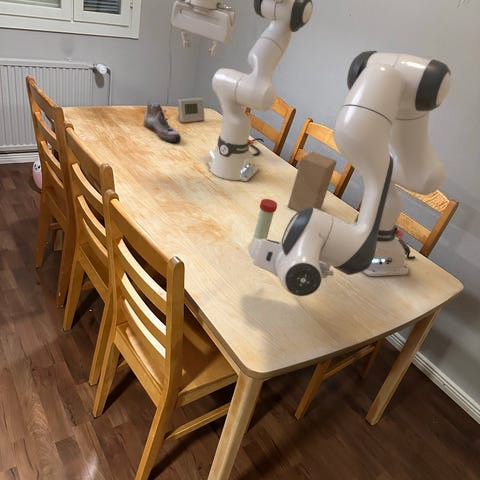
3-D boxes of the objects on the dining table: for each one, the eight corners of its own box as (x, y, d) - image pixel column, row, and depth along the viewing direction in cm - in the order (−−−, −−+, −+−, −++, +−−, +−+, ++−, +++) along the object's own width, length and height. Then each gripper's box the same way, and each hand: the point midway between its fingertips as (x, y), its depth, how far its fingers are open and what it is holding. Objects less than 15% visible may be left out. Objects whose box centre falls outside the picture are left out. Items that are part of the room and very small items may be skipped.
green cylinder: (249, 249, 135) (260, 204, 126) (253, 243, 138) (264, 199, 130) (261, 254, 134) (273, 209, 126) (265, 247, 137) (277, 203, 129)
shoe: (184, 144, 195) (187, 117, 189) (160, 144, 190) (163, 116, 183) (163, 123, 212) (165, 98, 206) (141, 123, 207) (143, 97, 200)
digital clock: (179, 123, 216) (182, 102, 211) (171, 117, 222) (173, 96, 216) (207, 123, 225) (211, 102, 220) (199, 116, 231) (202, 96, 225)
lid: (257, 209, 127) (258, 203, 126) (262, 202, 131) (263, 197, 130) (273, 214, 126) (274, 208, 125) (277, 207, 130) (279, 202, 129)
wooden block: (310, 217, 160) (327, 167, 149) (286, 207, 163) (301, 157, 153) (321, 209, 167) (337, 160, 157) (298, 198, 171) (312, 150, 160)
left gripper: (242, 8, 122) (233, 60, 129) (184, -8, 129) (179, 42, 137) (230, 7, 117) (221, 61, 124) (170, -10, 125) (165, 42, 132)
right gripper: (340, 263, 101) (327, 252, 115) (255, 236, 100) (253, 228, 114) (330, 288, 102) (319, 274, 116) (247, 262, 101) (245, 251, 115)
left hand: (198, 51), depth 131 cm, fingers open, 8 cm apart
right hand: (286, 251), depth 115 cm, fingers open, 8 cm apart
